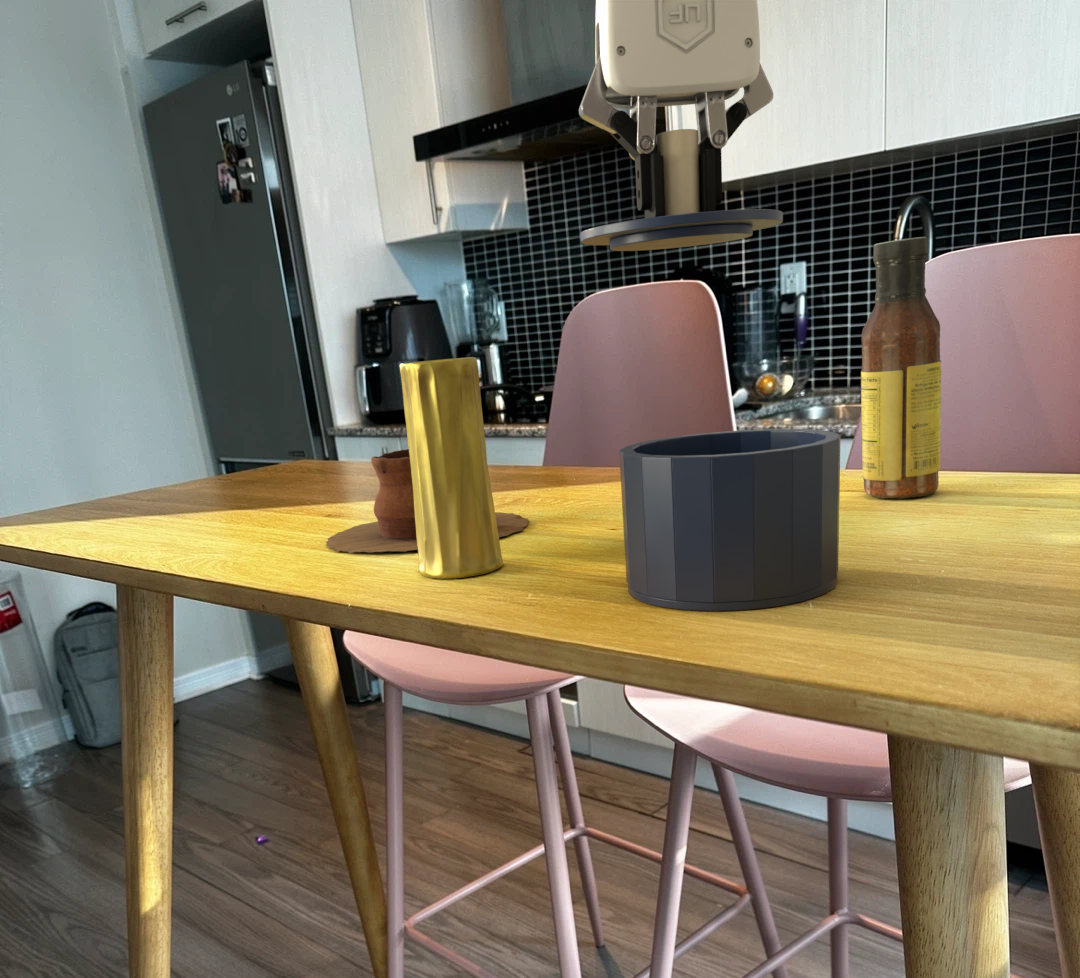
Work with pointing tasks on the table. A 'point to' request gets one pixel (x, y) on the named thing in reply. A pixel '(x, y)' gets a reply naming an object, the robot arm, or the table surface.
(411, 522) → the ceramic pot
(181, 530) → the table surface
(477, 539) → the vase
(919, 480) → the sauce bottle
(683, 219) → the tin lid
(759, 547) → the tin
